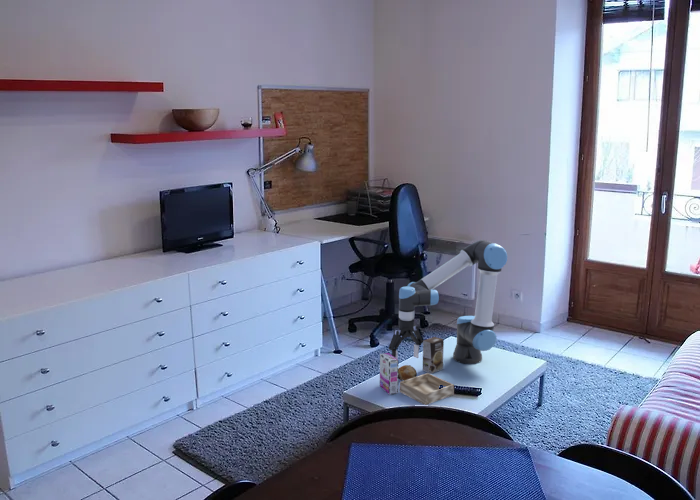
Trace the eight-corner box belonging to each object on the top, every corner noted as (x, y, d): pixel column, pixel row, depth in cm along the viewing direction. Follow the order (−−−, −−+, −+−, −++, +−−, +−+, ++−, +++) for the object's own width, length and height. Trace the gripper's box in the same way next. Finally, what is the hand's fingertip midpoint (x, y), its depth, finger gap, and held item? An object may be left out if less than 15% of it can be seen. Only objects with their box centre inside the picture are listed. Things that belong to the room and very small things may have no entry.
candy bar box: (398, 393, 286) (399, 360, 283) (389, 395, 284) (389, 361, 281) (388, 384, 296) (388, 352, 293) (379, 386, 295) (379, 353, 291)
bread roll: (411, 389, 300) (418, 375, 298) (392, 379, 301) (399, 365, 299) (413, 380, 309) (420, 367, 307) (395, 371, 310) (402, 358, 308)
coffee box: (431, 374, 308) (432, 343, 305) (422, 370, 313) (422, 340, 310) (443, 369, 314) (444, 339, 311) (434, 365, 319) (434, 336, 315)
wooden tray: (427, 382, 298) (427, 372, 297) (453, 394, 284) (454, 384, 283) (399, 392, 287) (399, 382, 287) (425, 405, 273) (425, 394, 272)
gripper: (420, 312, 309) (419, 352, 313) (381, 321, 294) (380, 363, 298) (430, 316, 303) (429, 357, 307) (391, 325, 288) (390, 368, 292)
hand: (405, 360), depth 302 cm, fingers open, 13 cm apart
